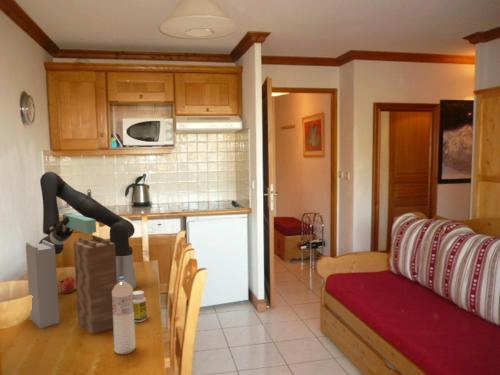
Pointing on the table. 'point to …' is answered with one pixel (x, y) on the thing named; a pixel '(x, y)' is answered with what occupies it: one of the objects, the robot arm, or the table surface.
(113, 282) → the walnut stand
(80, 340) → the table surface
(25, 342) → the table surface
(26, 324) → the table surface
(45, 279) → the grey stand
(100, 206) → the robot arm
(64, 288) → the pomegranate
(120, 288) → the water bottle
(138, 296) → the pill bottle
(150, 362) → the table surface
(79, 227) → the teal bar
